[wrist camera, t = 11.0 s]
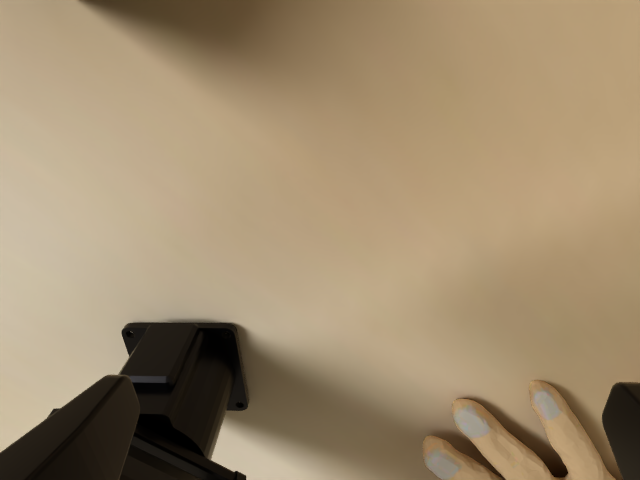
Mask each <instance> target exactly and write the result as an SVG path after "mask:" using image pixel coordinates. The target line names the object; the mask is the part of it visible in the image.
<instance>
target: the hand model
mask: <svg viewBox="0 0 640 480" xmlns="http://www.w3.org/2000/svg"><path fill="white" fill-rule="evenodd" d="M529 391H530V399H531V404H532V407H533V409H534V411H535V412H536V413H537V414H538V416H539V418H540V420H541V422H542V424H543V426H544V429H545V432H546V435H547V437H548V440H549V441H550V443H551V446H552V447H553V448H554V450H555V451H556V452H557V453H558V454H559V456H560V457H561V459H562V461H563V463H564V464H565V466H566V467H567V470H568V474H567V475H566V477H564V478H557V477H553V475H552V474H551V473H550V471H549V470H548V468H547V467H546V465H545V464H544V463H543V461H542V460H541V459H540V458H539V457H538V456H537V455H536V454H535V453H534V452H533V451H532V450H531V449H529V448H528V447H526V446H525V445H524V444H523V443H521V442H520V441H519V440H518V439H517V438H515V437H514V436H513V435H512V434H510V433H509V432H508V431H507V430H506V429H505V428H504V427H503V426H502V425H501V424H500V423H499V422H498V421H497V420H496V419H495V417H494V416H493V415H492V414H491V413H489V412H488V411H487V410H486V409H485V408H484V407H483V406H482V405H481V404H479V403H477V402H475V401H473V400H469V399H456V400H455V401H454V402H453V404H452V413H453V418H454V421H455V424H456V426H457V428H458V429H459V430H460V431H461V432H462V433H463V434H464V435H465V436H466V437H468V438H469V439H470V440H471V442H472V443H473V444H474V445H475V446H476V447H477V448H478V450H479V451H480V452H481V454H482V455H483V456H484V457H485V458H486V459H487V460H488V461H489V462H490V463H491V464H492V465H493V467H494V468H495V469H496V470H497V471H498V472H499V473H500V474H501V475H502V476H503V477H504V478H505V479H506V480H616V479H615V478H614V477H613V476H612V475H611V474H610V473H609V472H608V471H607V470H606V468H605V465H604V464H603V462H602V459H601V456H600V455H599V453H598V452H597V450H596V448H595V446H594V445H593V443H592V441H591V440H590V438H589V436H588V435H587V433H586V432H585V430H584V428H583V427H582V425H581V424H580V422H579V421H578V419H577V417H576V416H575V415H574V414H573V412H572V411H571V410H570V408H569V406H568V404H567V403H566V401H565V400H564V398H563V397H562V396H561V395H560V394H559V392H558V391H557V390H556V389H555V388H554V387H552V386H551V385H549V384H548V383H546V382H544V381H541V380H534V381H532V382H531V383H530V386H529ZM423 456H424V463H425V466H426V467H427V468H428V469H429V470H430V471H432V472H433V473H434V474H435V475H436V476H437V477H439V478H440V479H442V480H504V479H503V478H501V477H500V476H498V475H496V474H494V473H493V472H491V471H490V470H489V469H487V468H486V467H485V466H483V465H482V464H480V463H478V462H477V461H476V460H474V459H473V458H471V457H469V456H466V455H465V454H463V453H461V452H459V451H457V450H456V449H454V448H453V446H452V445H451V444H450V443H449V442H447V441H445V440H443V439H441V438H439V437H436V436H427V437H425V439H424V442H423Z"/></svg>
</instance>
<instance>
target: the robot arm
mask: <svg viewBox="0 0 640 480" xmlns="http://www.w3.org/2000/svg"><path fill="white" fill-rule="evenodd" d="M130 331H132V332H133V333H132V332H130ZM225 332H229V333H230V334H226V333H225ZM122 337H123V340H124V342H125V345H126V348H127V351H128V354H129V358H128V360H127V362H126V363H125V365H124V366H123V368H122V370H121V371H120V373H119V374H118V375H107V376H105V377H103V378H101V379H100V380H99V381H97V382H96V383H95V384H93V385H92V386H91V387H89V388H88V389H86V390H85V391H84V392H82V393H81V394H80V395H78V396H77V397H76V398H74V399H73V400H71V401H70V402H69V403H67V404H66V405H65V406H63V407H62V408H60V409H53V411H52V412H51V413H50V415H49V416H48V417H47V419H46V420H44V421H43V422H41V423H40V424H39V425H37V426H36V427H35V428H33V429H32V430H30V431H29V432H28V433H26V434H25V435H24V436H22V437H21V438H20V439H18V440H17V441H15V442H14V443H13V444H11V445H10V446H9V447H7V448H6V449H5V450H3V451H2V452H0V480H246V475H244V474H242V473H240V472H238V471H235V472H233V471H231V470H229V469H227V468H225V467H223V466H221V465H219V464H217V463H215V462H213V461H211V458H212V455H213V451H214V448H215V445H216V442H217V439H218V435H219V432H220V429H221V426H222V422H223V419H224V416H225V413H226V410H232V411H242V410H245V409H247V407H248V404H249V397H248V391H247V385H246V380H245V374H244V368H243V363H242V357H241V352H240V346H239V340H238V335H237V330H236V328H235V327H234V326H233V325H231V324H227V323H128V324H127V325H126V326H125V327H124V328H123V330H122ZM602 422H603V427H604V430H605V432H606V435H607V438H608V441H609V443H610V446H611V449H612V451H613V454H614V457H615V459H616V462H617V465H618V467H619V470H620V473H621V475H622V478H623V480H640V383H634V382H618V383H616V384H615V385H613V387H612V389H611V392H610V394H609V397H608V400H607V402H606V405H605V408H604V410H603V414H602Z"/></svg>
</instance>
